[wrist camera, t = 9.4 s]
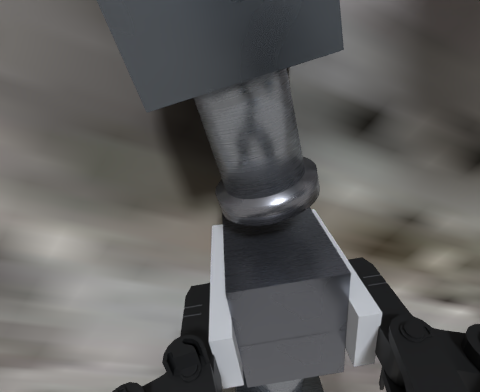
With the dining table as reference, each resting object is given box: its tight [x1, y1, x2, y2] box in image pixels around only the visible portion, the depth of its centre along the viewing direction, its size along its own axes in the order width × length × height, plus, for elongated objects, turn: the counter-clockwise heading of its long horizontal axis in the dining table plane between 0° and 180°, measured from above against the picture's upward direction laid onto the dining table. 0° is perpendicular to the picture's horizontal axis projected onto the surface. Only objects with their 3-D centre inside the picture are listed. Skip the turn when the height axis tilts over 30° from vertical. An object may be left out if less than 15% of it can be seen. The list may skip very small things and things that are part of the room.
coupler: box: [222, 207, 351, 388], centre depth 12 cm, size 6×4×6 cm
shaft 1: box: [97, 0, 344, 226], centre depth 9 cm, size 8×5×5 cm, turn 16°
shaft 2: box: [235, 366, 324, 392], centre depth 16 cm, size 8×5×5 cm, turn 0°
